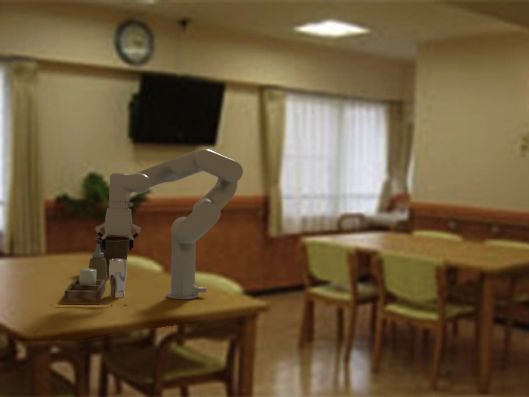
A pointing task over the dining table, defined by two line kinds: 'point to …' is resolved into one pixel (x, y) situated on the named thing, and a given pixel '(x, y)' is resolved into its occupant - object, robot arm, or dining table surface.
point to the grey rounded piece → (87, 277)
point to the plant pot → (114, 248)
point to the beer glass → (117, 277)
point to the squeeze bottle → (98, 264)
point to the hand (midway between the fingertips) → (117, 249)
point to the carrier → (84, 292)
